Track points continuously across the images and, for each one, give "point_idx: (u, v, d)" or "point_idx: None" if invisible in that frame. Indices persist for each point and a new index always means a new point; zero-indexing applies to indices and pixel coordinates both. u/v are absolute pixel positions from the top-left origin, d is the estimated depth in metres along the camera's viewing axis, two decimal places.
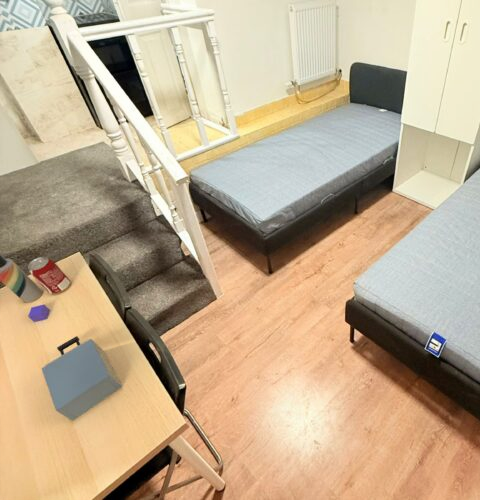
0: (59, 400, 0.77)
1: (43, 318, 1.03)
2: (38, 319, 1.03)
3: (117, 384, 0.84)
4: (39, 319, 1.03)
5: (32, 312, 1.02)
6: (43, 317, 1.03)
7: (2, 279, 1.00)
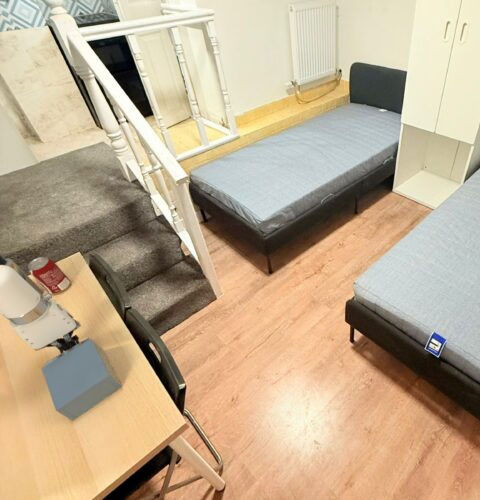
0: (59, 400, 0.77)
1: None
2: None
3: (117, 384, 0.84)
4: None
5: None
6: None
7: None
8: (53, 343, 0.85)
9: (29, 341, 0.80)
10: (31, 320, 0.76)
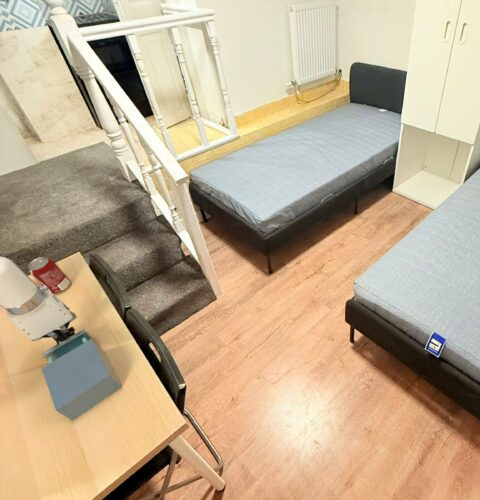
0: (59, 400, 0.77)
1: None
2: None
3: (117, 384, 0.84)
4: None
5: None
6: None
7: None
8: (49, 333, 0.87)
9: (26, 331, 0.82)
10: (28, 310, 0.78)
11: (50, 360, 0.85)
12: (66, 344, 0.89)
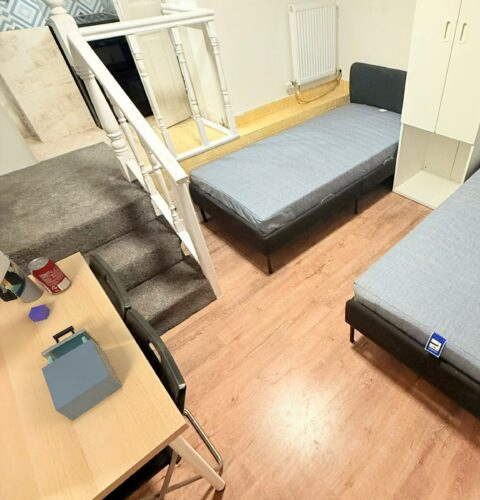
0: (59, 400, 0.77)
1: (43, 318, 1.03)
2: (38, 319, 1.03)
3: (117, 384, 0.84)
4: (39, 319, 1.03)
5: (32, 312, 1.02)
6: (43, 317, 1.03)
7: None
8: (1, 284, 0.89)
9: None
10: None
11: (50, 359, 0.85)
12: (66, 343, 0.89)
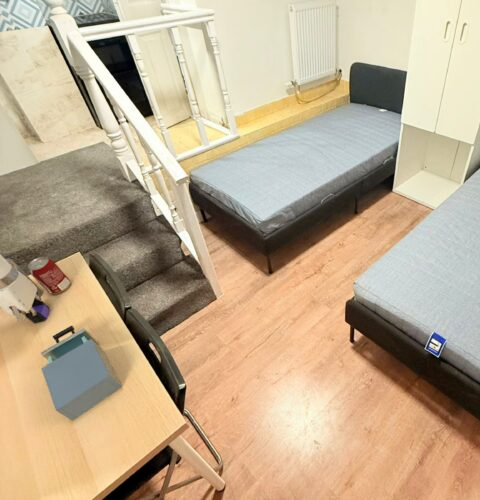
0: (59, 400, 0.77)
1: None
2: None
3: (117, 384, 0.84)
4: None
5: None
6: None
7: None
8: (31, 309, 0.98)
9: (20, 302, 0.94)
10: (16, 275, 0.92)
11: (50, 359, 0.85)
12: (66, 343, 0.89)
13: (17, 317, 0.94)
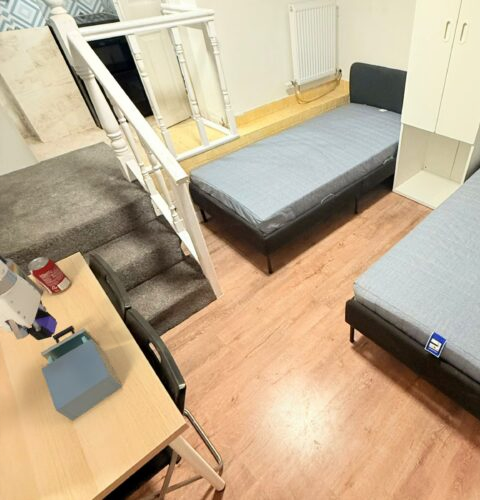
0: (59, 400, 0.77)
1: None
2: None
3: (117, 384, 0.84)
4: None
5: None
6: None
7: None
8: (34, 322, 0.76)
9: (20, 315, 0.72)
10: (14, 280, 0.70)
11: (50, 359, 0.85)
12: (66, 343, 0.89)
13: (16, 334, 0.72)
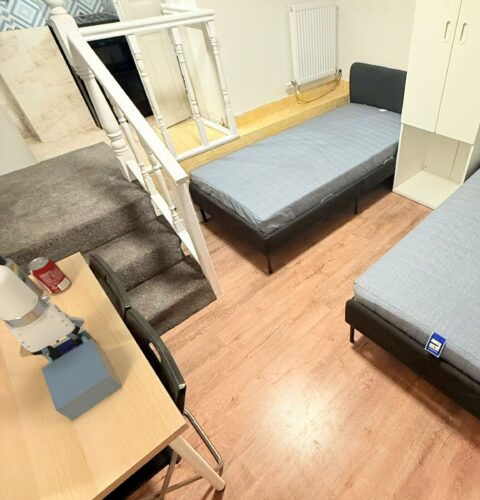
0: (59, 400, 0.77)
1: None
2: None
3: (117, 384, 0.84)
4: None
5: None
6: None
7: None
8: (44, 349, 0.82)
9: (25, 344, 0.77)
10: (28, 322, 0.74)
11: (49, 358, 0.85)
12: (65, 342, 0.89)
13: (20, 350, 0.79)
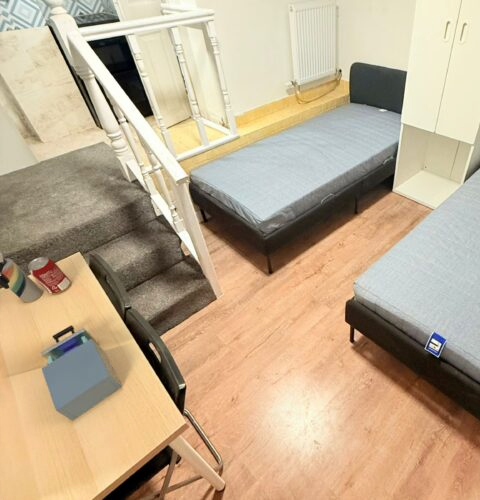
0: (59, 400, 0.77)
1: None
2: None
3: (117, 384, 0.84)
4: None
5: None
6: None
7: None
8: None
9: None
10: None
11: (49, 359, 0.85)
12: (65, 343, 0.89)
13: None
